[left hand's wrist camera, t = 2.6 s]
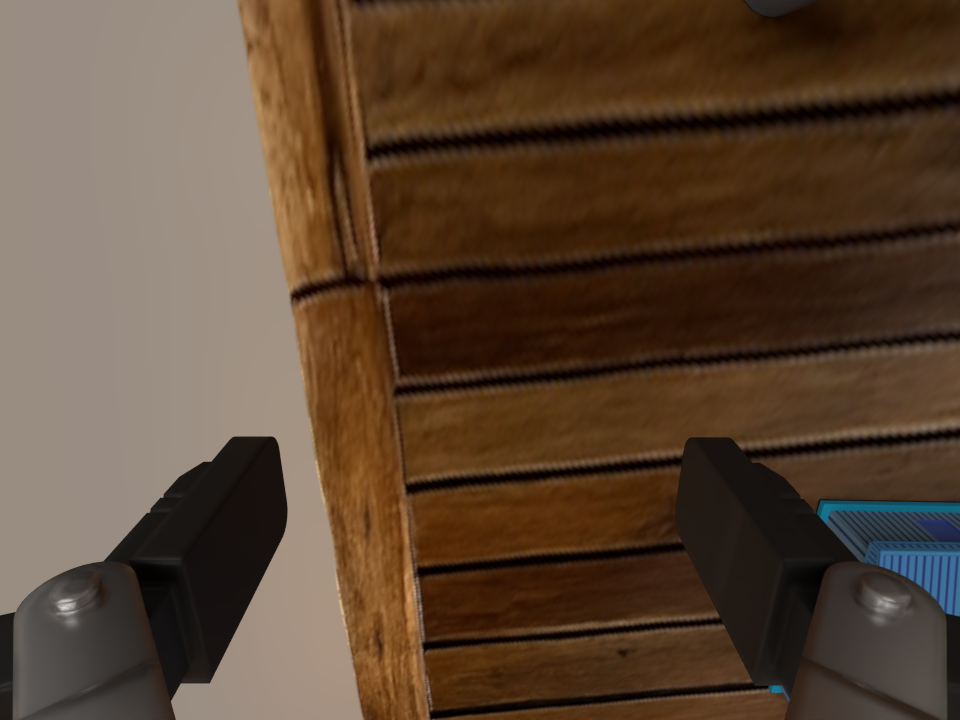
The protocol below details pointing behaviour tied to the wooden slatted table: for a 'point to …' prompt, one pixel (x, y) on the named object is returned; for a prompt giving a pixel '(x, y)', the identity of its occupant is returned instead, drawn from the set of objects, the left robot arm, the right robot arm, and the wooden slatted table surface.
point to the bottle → (777, 6)
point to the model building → (902, 543)
